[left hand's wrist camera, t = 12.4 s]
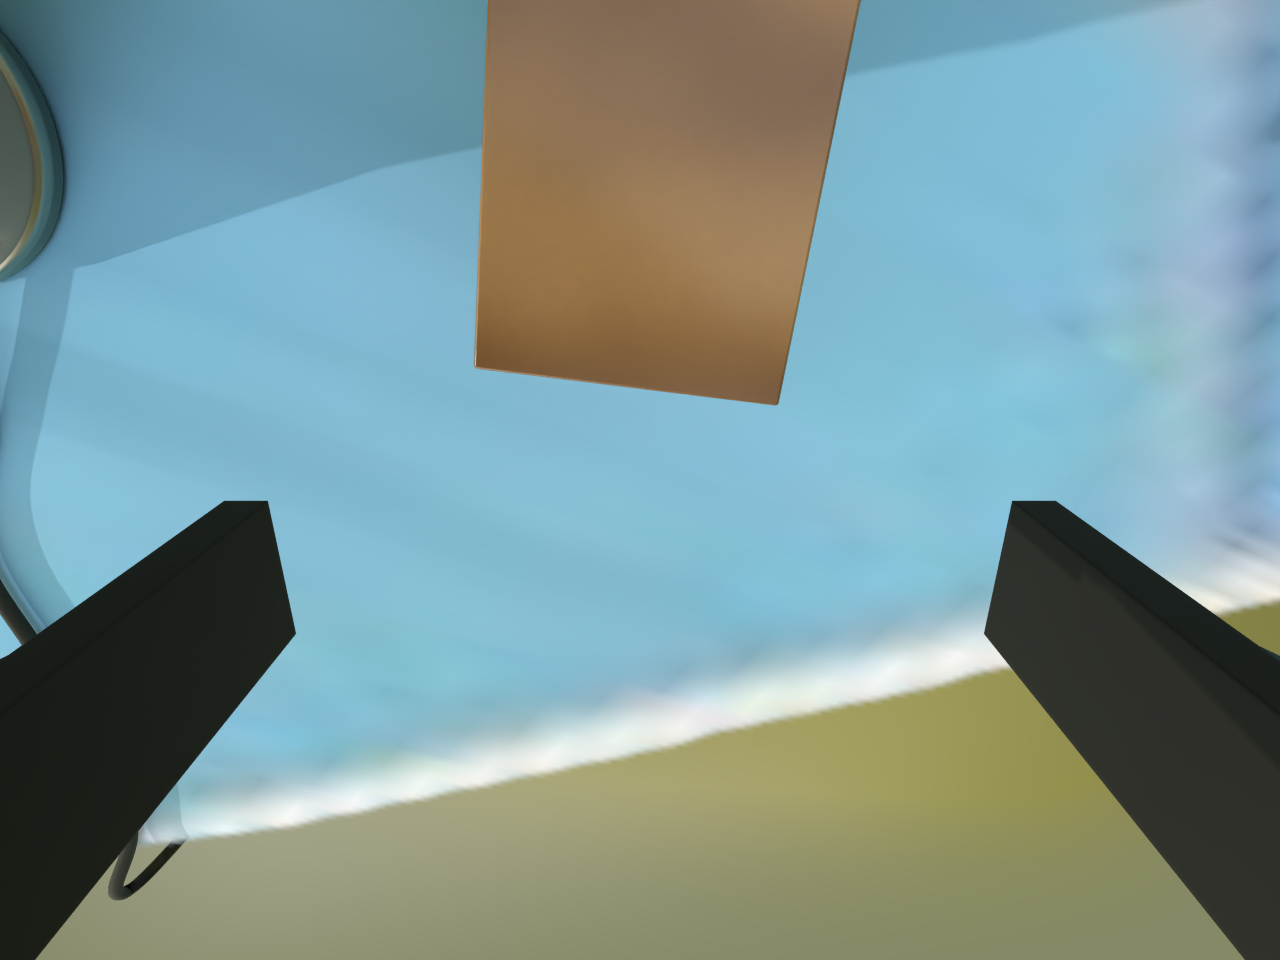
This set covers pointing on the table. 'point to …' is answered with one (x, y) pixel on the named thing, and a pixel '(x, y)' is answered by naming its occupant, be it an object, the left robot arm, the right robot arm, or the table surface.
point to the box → (653, 187)
